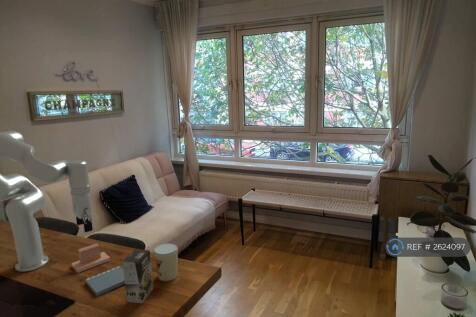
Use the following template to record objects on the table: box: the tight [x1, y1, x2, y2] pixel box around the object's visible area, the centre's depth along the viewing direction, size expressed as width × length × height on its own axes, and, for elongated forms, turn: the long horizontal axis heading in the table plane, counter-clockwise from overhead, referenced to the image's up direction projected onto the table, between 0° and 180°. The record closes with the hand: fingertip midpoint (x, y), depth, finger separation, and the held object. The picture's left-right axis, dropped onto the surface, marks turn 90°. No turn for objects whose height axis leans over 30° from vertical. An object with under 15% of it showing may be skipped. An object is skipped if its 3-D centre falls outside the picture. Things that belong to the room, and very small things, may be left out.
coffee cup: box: [153, 242, 179, 282], centre depth 132 cm, size 9×9×12 cm
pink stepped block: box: [71, 243, 111, 274], centre depth 144 cm, size 7×14×8 cm, turn 133°
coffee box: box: [122, 249, 154, 304], centre depth 120 cm, size 9×6×16 cm
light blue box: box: [85, 265, 125, 297], centre depth 130 cm, size 12×14×2 cm
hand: (84, 227), depth 142 cm, fingers open, 9 cm apart
